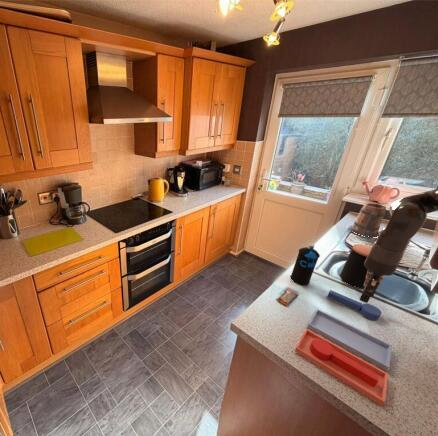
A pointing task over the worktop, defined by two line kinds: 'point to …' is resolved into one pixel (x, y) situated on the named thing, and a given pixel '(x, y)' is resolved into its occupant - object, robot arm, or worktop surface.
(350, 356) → the red tray
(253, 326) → the worktop surface
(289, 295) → the chocolate bar
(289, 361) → the worktop surface
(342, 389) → the worktop surface
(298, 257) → the aerosol can
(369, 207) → the tankard
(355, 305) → the blue spoon
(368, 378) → the red spoon
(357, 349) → the blue tray
